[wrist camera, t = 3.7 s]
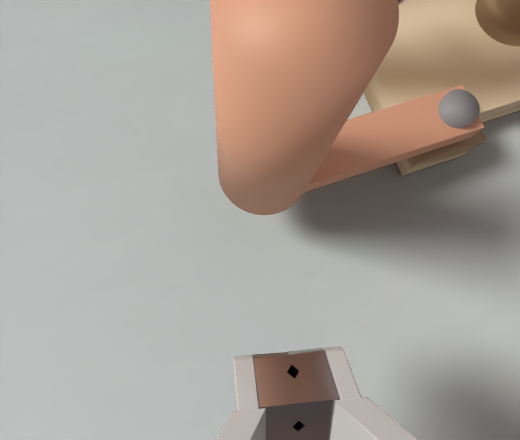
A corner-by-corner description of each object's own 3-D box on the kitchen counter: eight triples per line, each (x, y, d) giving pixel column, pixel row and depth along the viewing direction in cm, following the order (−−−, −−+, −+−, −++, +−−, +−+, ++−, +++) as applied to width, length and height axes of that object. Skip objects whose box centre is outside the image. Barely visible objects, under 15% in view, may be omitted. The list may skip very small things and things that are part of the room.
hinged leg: (443, 84, 21) (665, -156, 11) (476, 151, 21) (753, -35, 10) (207, 155, 19) (185, -53, 9) (234, 233, 19) (248, 110, 8)
